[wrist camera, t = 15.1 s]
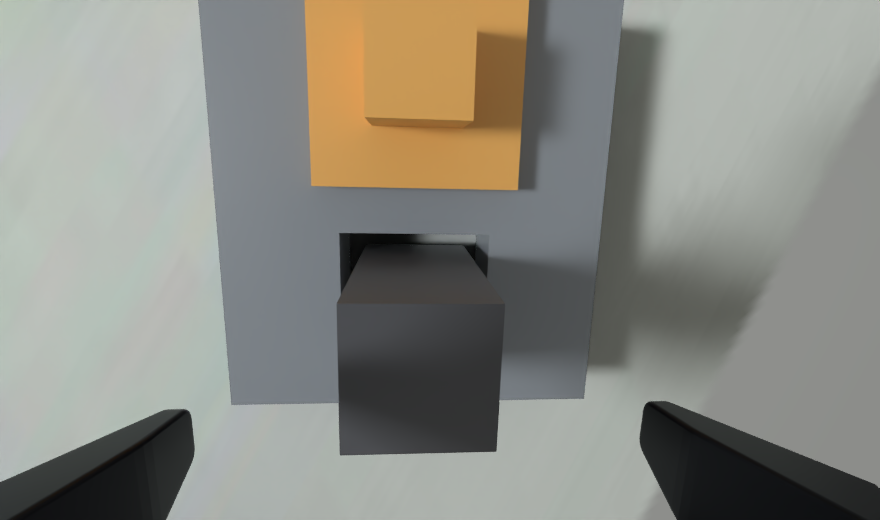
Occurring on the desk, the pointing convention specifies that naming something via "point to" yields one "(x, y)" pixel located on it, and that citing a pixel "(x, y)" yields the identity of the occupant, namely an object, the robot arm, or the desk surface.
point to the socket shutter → (416, 92)
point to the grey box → (418, 353)
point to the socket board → (403, 204)
